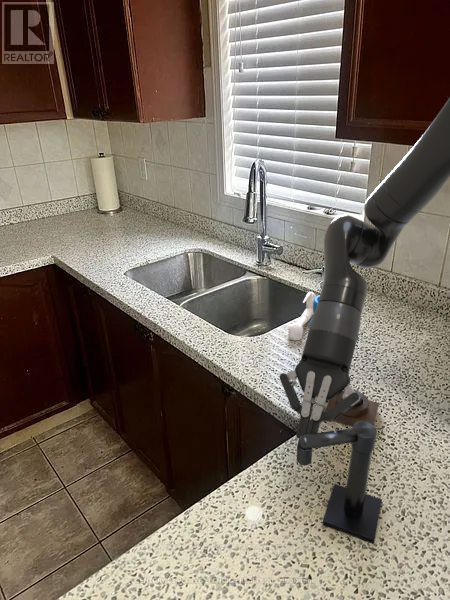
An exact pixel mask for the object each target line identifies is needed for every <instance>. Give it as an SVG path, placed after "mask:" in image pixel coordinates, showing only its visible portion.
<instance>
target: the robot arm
mask: <svg viewBox="0 0 450 600" xmlns="http://www.w3.org/2000/svg"><path fill="white" fill-rule="evenodd" d="M449 180H450V97H449V98H448V99H447V100H446V102H445V103H444V105H443V107H442V108H441V109H440V111H439V112H438V113H437V115H436V117H435V118H434V119H433V121H432V122H431V123H430V125H429V126H428V127H427V129H426V130H425V132H424V133H423V134H422V135H421V136H420V138H419V139H418V140H417V141H416V143H415V144H414V145H413V146H412V148H411V149H410V150H408V152H407V154H405V156H404V157H403V158H402V159H401V160H400V161H399V162H398V163H397V165H396V166H395V167H394V168H393V169H392V170H391V171H390V173H388V174H387V176H386V177H385V178H384V179H383V180H382V181H381V183H380V184H379V185H378V186H377V187H376V188H375V189H374V190H373V192H372V193H371V194H370V195H369V196H368V198H367V199H366V200H365V203H364V208H363V209H364V214H365V217H366V218H367V220H368V221H369V222H370V223H371V224H370V223H368V222H366V221H363V220H361V219H359V218H357V217H354V216H353V215H352V216H351V215H348V214H342V215H339V216H337V217H335V218H334V219H333V220H332V221H331V222H330V224H328V227H327V228H326V231H325V234H324V238H323V239H324V240H323V263H324V264H323V283H322V287H321V290H320V294H319V295H320V298H319V301H318V305H317V307H316V310H315V312H314V315H312V316H311V318H312V321H311V325H310V328H309V327H308V331H309V332H308V331H307V336H306V339H305V343H304V348H303V351H302V354H301V358H300V360H299V362H298V363H297V364H296V365H295V368H294V370H292V371H289V372H287V373H285V372H282V373H280V374H279V380H280V383H281V385H282V388H283V391H284V392H285V395H286V397H287V400H288V403H289V405H290V408H291V409H292V410H293V411H295V412H296V413H297V414H298V415H299V422H298V426H297V430H296V433H295V435H296V439H299V438H300V437H301V436H302V435H308V434H315V433H319V430H320V426H321V424H322V423H323V422H334V421H333V420H335V419H336V418H338V417H339V416H340V415H342V414H343V413H344V412H346V411H347V410H348V409H350V408H351V407H352V406H354V405H355V404H357V403H358V402H359V401H360V396H359V395H358V394H357V393H355V391H354V390H355V389H354V388H353V387H352V386H351V385H350V384H351V378H350V370H351V365H352V362H353V357H354V353H355V349H356V345H357V342H358V340H359V337H360V336H359V333H360V330H361V329H360V328H361V319H362V314H363V310H364V305H365V302H366V297H367V293H368V287H369V285H368V282H367V280H366V278H364V277H363V276H362V275H361V274H360V273H359V272H357V271H356V270H355V269H354V268H353V267H352V266H351V264H353V265H355V266H357V267H359V268H363V269H373V268H376V267H378V266H380V265H381V264H382V263H383V262H384V261H385V260H386V258H387V257H388V255H389V253H390V251H391V249H392V248H393V246H394V244H395V243H396V240H397V239H398V238H399V236H400V234H401V233H402V231H403V230H404V228H406V226H407V224H409V223H410V222H411V221H412V220H414V218H415V217H416V216H417V215H418V214H419V213H420V212H421V211H422V210H424V208H426V206H428V205H429V204H430V203H431V202H432V200H434V199H435V197H437V195H438V194H439V193H440V192H441V191H442V189H443V188H444V187H445V185H446V184H447V183H448V181H449ZM297 380H298V383H299V386H300V388H301V391H302V392H303V397H302V404H301V402H300V399H299V397H298V394H297V392H296V389H295V386H296V385H297ZM342 391H345V393H344V394H343V395H342V398H343V400H342V401H341V402H340V403H338V404H337V405H336V406H334V407H333V408H332V409H330V410H329V411H328V412H325V409H326V408H327V405H328V402H329V400H332V399H333V398H335V397H336V396H337V395H338V394H340V393H341V392H342ZM314 405H315V406H314Z"/></svg>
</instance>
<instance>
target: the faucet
mask: <svg viewBox="0 0 450 600" xmlns="http://www.w3.org/2000/svg"><path fill="white" fill-rule="evenodd" d="M316 296H317V295H316V294H315V292H313V291H308V292H307V293H306V295H305V297H304V299H303V301H302V303H303V304H305V310H304V311H303V312H302V313H301V315H300V317H299V319H298V321H297V322H293V323H291V324H290V325H289V326H288V338H289V339H290V340H292V341H300V340H302V338H303V333H304V325H305V324H306V323H309V321H310V320H311V318H312V317H313V315H314V313H313V301H314V298H315V297H316Z"/></svg>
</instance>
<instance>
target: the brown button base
mask: <svg viewBox="0 0 450 600" xmlns="http://www.w3.org/2000/svg"><path fill="white" fill-rule="evenodd" d="M359 392H360V393H361V394H362V403H361V405H360V406H357V407H353V406H352V407H351V408H350V409H348V410H347V411H346V412H344V413H343V414H342V415H340V416H339V417H338V418H336V419H335V420H333V421H332V422H335V423H337V424H341V425H344V426H345V425H346V426H349V427H351V428H353V425H354V424H355V423H357V422H361V421H363V422H368V423H370V424H372V425H373V426H374V427H375V425H376V421H377V417H378V412H379V405H380V402H377V401H373V400H370V399H369V398H368V396H367V395H366V394H364V393H363V392H361V391H359ZM344 393H345V390H343V391H342V392H341V393H340V394H338V395H337V396H336V397H335V398H333V399H332V400H329V402H328V405H327V408H326V409H325V412H328V411H329V410H330V409H332V408H333V407H334V406H336V405H337V404H338V403H340V402H341V401H342V400H343V398H342V395H343V394H344Z"/></svg>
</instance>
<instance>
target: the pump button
mask: <svg viewBox="0 0 450 600" xmlns="http://www.w3.org/2000/svg"><path fill="white" fill-rule="evenodd" d="M353 390H354V391H355V393H357V394H358V395H359V396H360V401H359V402H358V403H357V404H355V405H354V406H353V407H357V406H360V405H361V403H362V394H363V393H362V392H361V391H359V390H357V389H353ZM360 392H361V393H362V394H361V393H360Z"/></svg>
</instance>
